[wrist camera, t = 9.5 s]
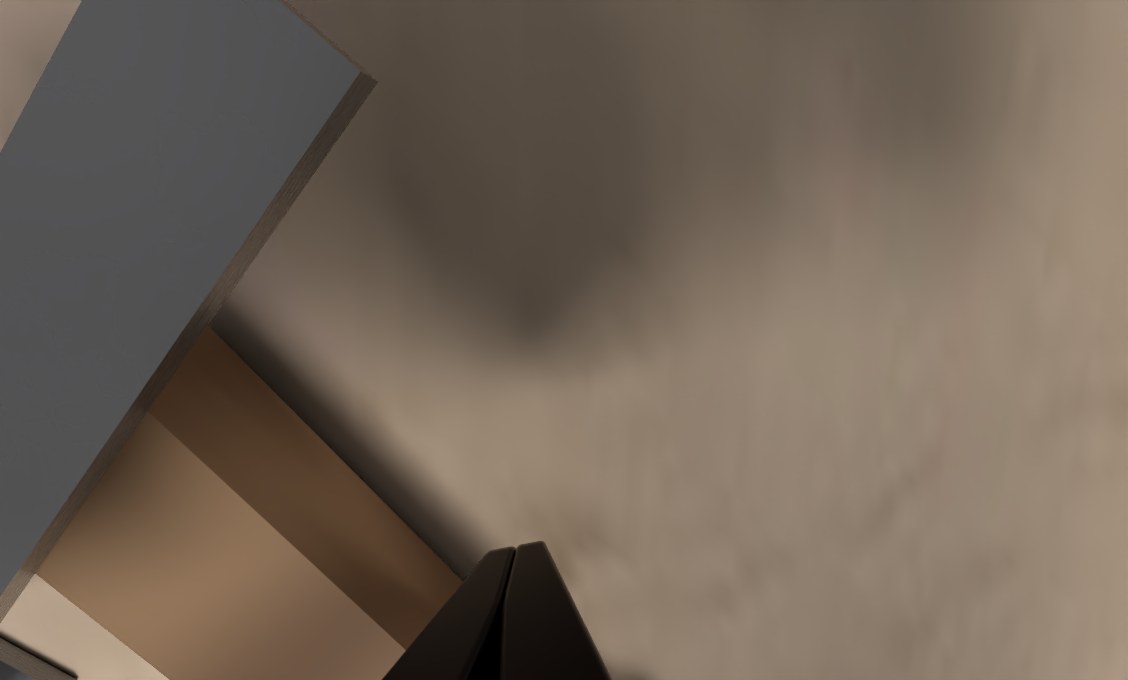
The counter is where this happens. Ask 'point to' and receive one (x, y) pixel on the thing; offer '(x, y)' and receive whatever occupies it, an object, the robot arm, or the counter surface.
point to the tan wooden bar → (244, 542)
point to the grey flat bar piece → (138, 230)
